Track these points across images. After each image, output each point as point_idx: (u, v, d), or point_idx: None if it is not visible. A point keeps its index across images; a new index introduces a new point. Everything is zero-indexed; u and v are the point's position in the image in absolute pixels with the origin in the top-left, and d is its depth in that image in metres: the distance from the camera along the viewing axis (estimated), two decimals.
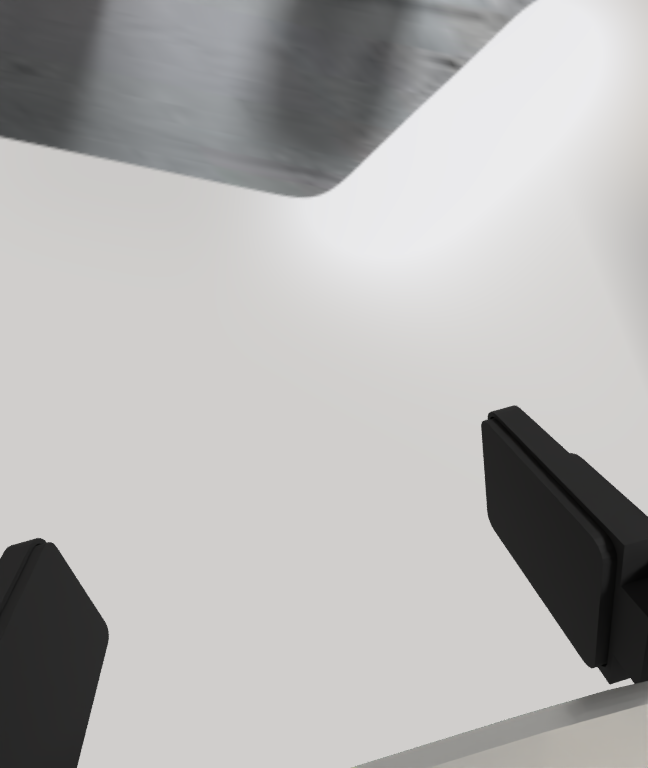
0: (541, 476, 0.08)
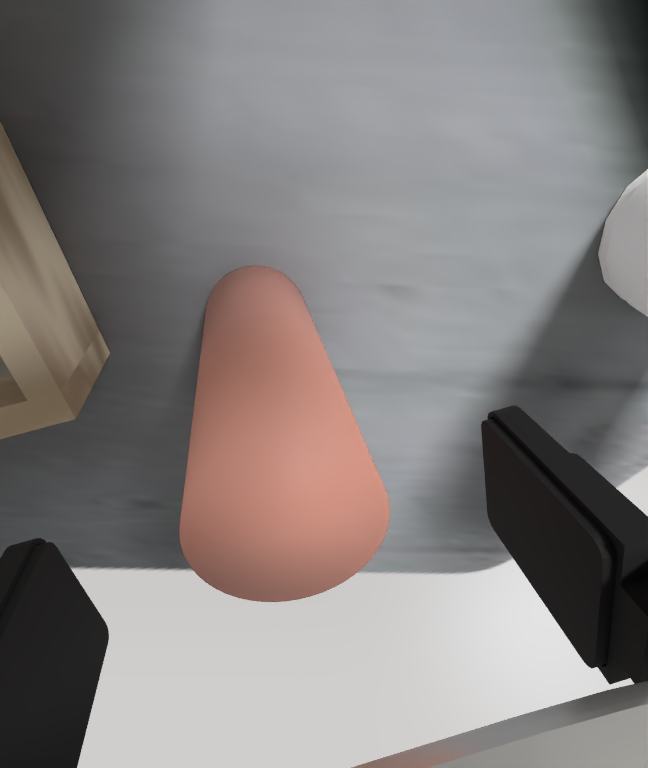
0: (541, 476, 0.08)
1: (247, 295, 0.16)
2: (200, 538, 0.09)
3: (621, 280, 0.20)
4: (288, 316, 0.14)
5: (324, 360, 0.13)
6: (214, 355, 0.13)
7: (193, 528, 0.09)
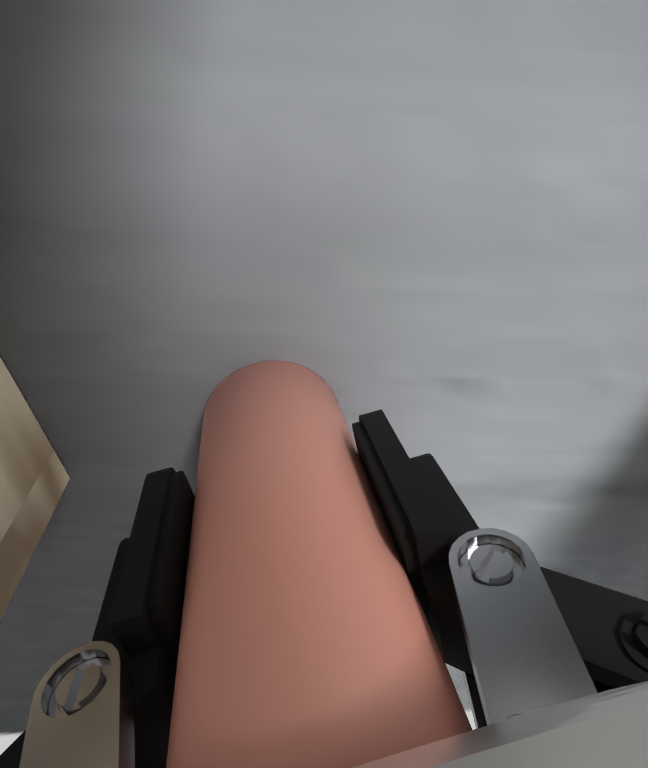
0: (379, 474, 0.09)
1: (265, 430, 0.10)
2: None
3: None
4: (332, 479, 0.09)
5: (403, 587, 0.07)
6: (212, 579, 0.07)
7: None
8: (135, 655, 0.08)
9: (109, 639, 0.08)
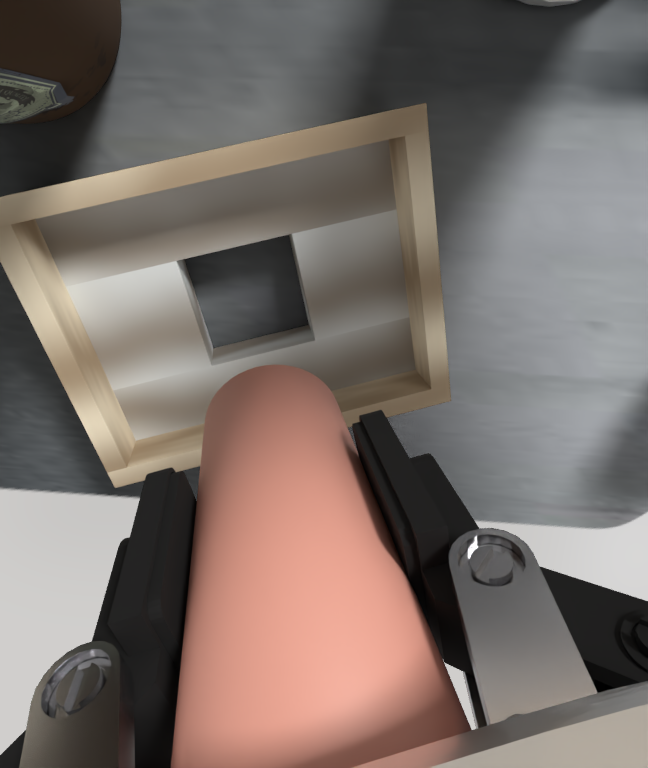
0: (379, 474, 0.09)
1: (266, 434, 0.10)
2: None
3: None
4: (333, 484, 0.09)
5: (404, 592, 0.07)
6: (214, 584, 0.07)
7: None
8: (135, 655, 0.08)
9: (109, 639, 0.08)
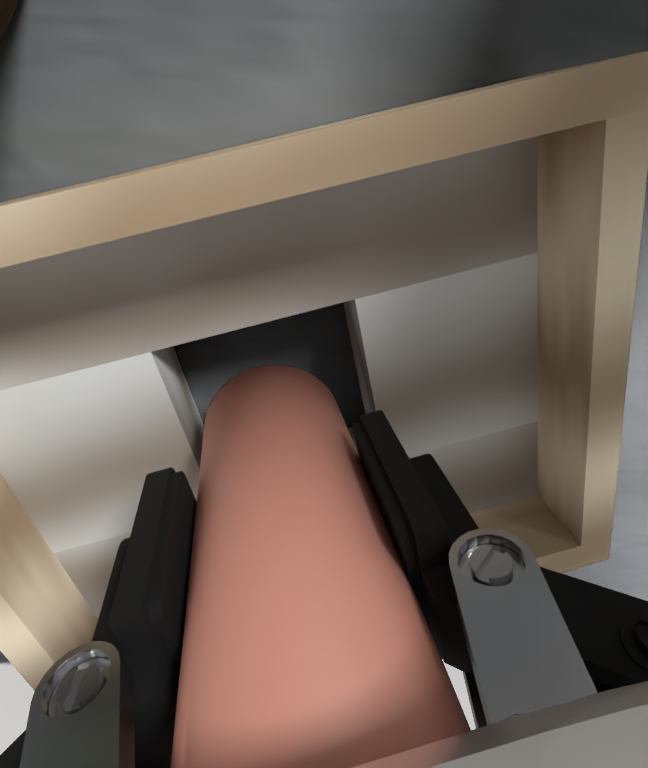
0: (379, 474, 0.09)
1: (266, 434, 0.10)
2: None
3: None
4: (333, 484, 0.09)
5: (404, 593, 0.07)
6: (214, 585, 0.07)
7: None
8: (135, 655, 0.08)
9: (109, 639, 0.08)
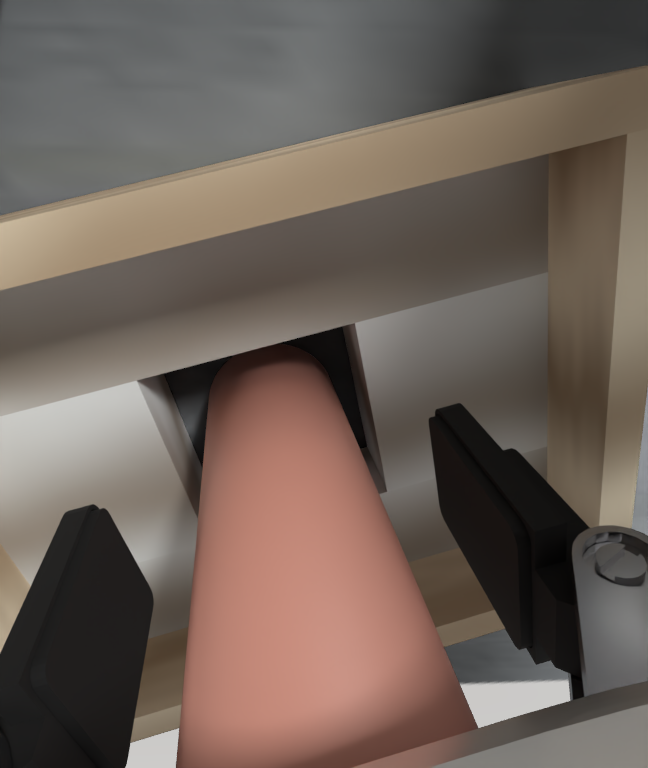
0: (473, 469, 0.09)
1: (265, 399, 0.12)
2: None
3: None
4: (324, 438, 0.10)
5: (382, 523, 0.09)
6: (221, 516, 0.09)
7: None
8: (18, 724, 0.07)
9: None
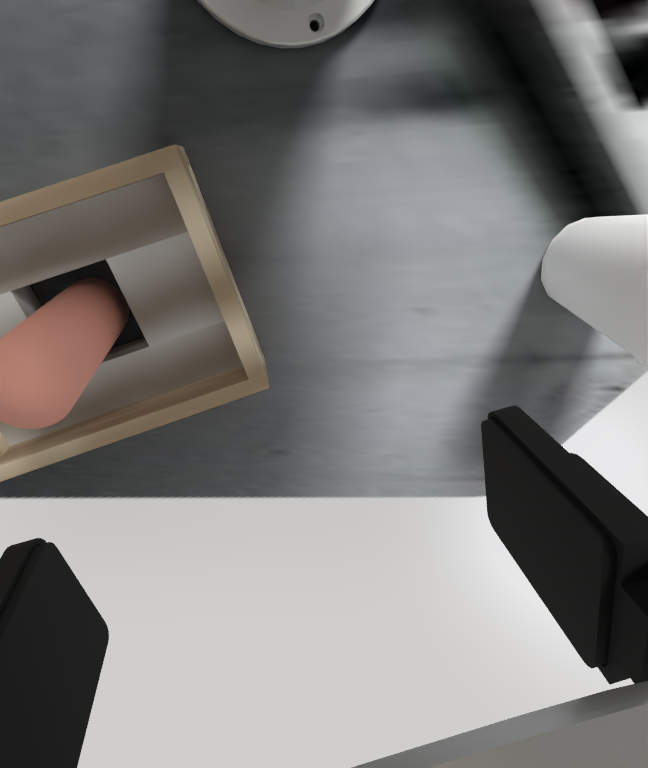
0: (541, 476, 0.08)
1: (63, 293, 0.27)
2: None
3: (554, 294, 0.35)
4: (76, 301, 0.26)
5: (81, 320, 0.24)
6: None
7: None
8: None
9: None
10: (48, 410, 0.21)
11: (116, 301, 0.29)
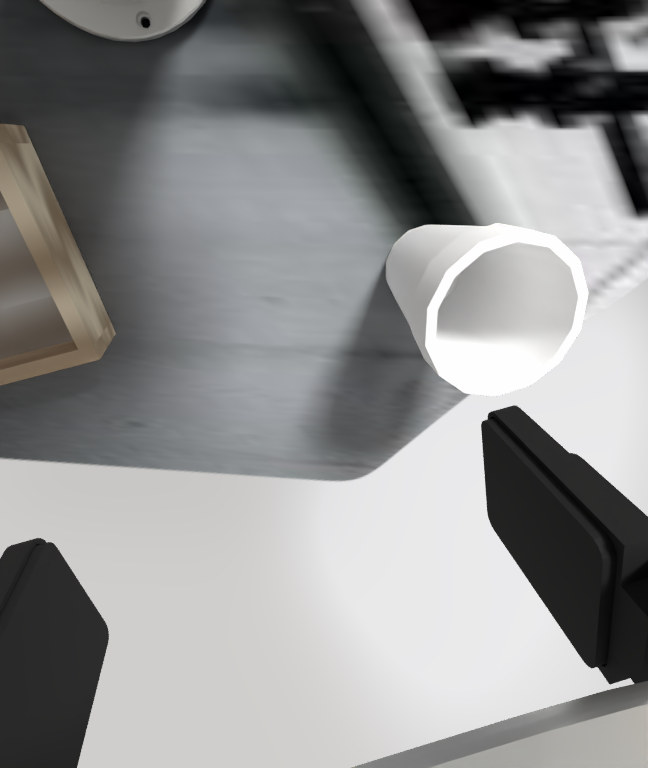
0: (541, 476, 0.08)
1: None
2: None
3: None
4: None
5: None
6: None
7: None
8: None
9: None
10: None
11: None
